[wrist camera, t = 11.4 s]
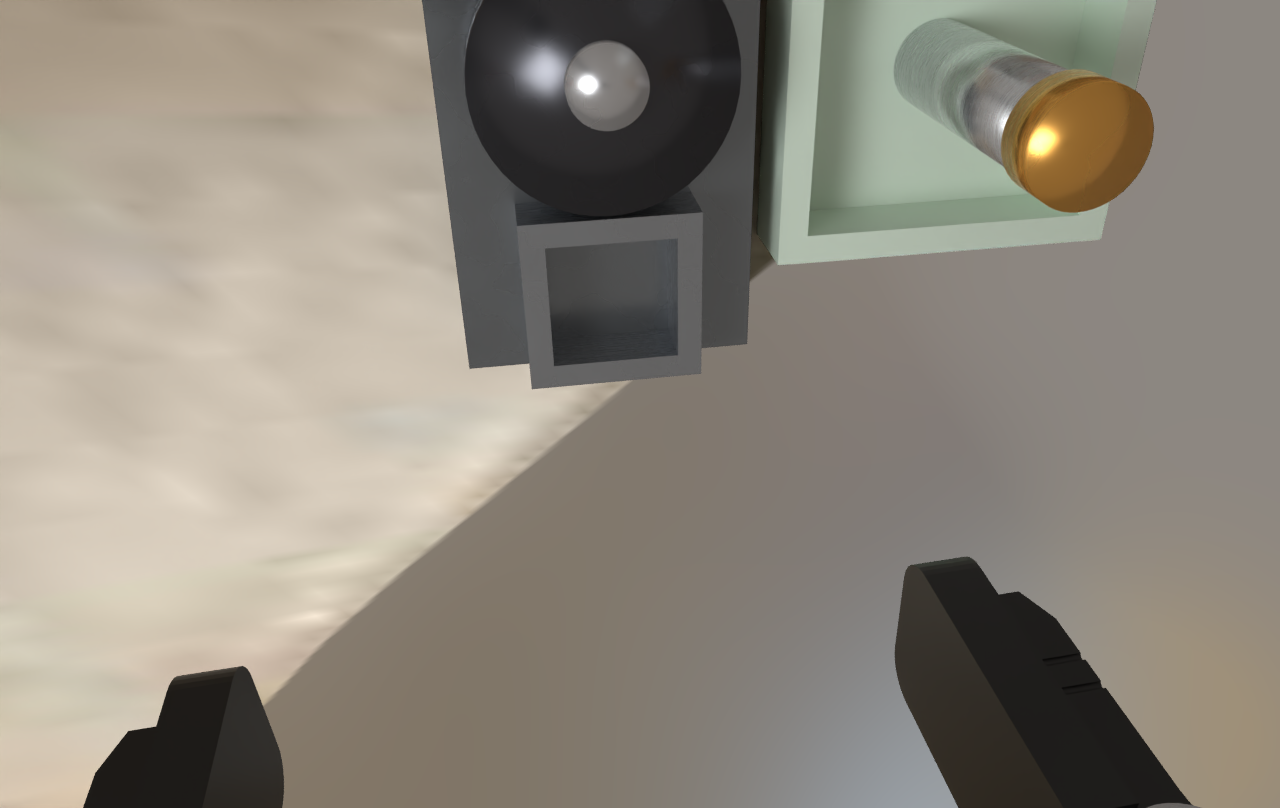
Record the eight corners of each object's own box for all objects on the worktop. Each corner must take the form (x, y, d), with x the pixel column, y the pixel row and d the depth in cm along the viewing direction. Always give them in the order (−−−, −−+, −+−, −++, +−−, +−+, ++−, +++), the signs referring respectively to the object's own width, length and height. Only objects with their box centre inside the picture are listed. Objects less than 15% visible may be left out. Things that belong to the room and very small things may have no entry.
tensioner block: (418, -81, 30) (407, -60, 25) (739, -93, 31) (787, -75, 26) (469, 330, 37) (469, 406, 33) (728, 308, 38) (764, 379, 34)
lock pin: (893, 14, 33) (1041, 86, 24) (990, 9, 33) (1168, 78, 25) (882, 116, 35) (1016, 216, 26) (974, 110, 35) (1136, 207, 27)
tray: (772, -130, 31) (799, -124, 28) (1132, -143, 32) (1189, -138, 29) (757, 233, 37) (777, 265, 34) (1059, 210, 38) (1100, 239, 36)
